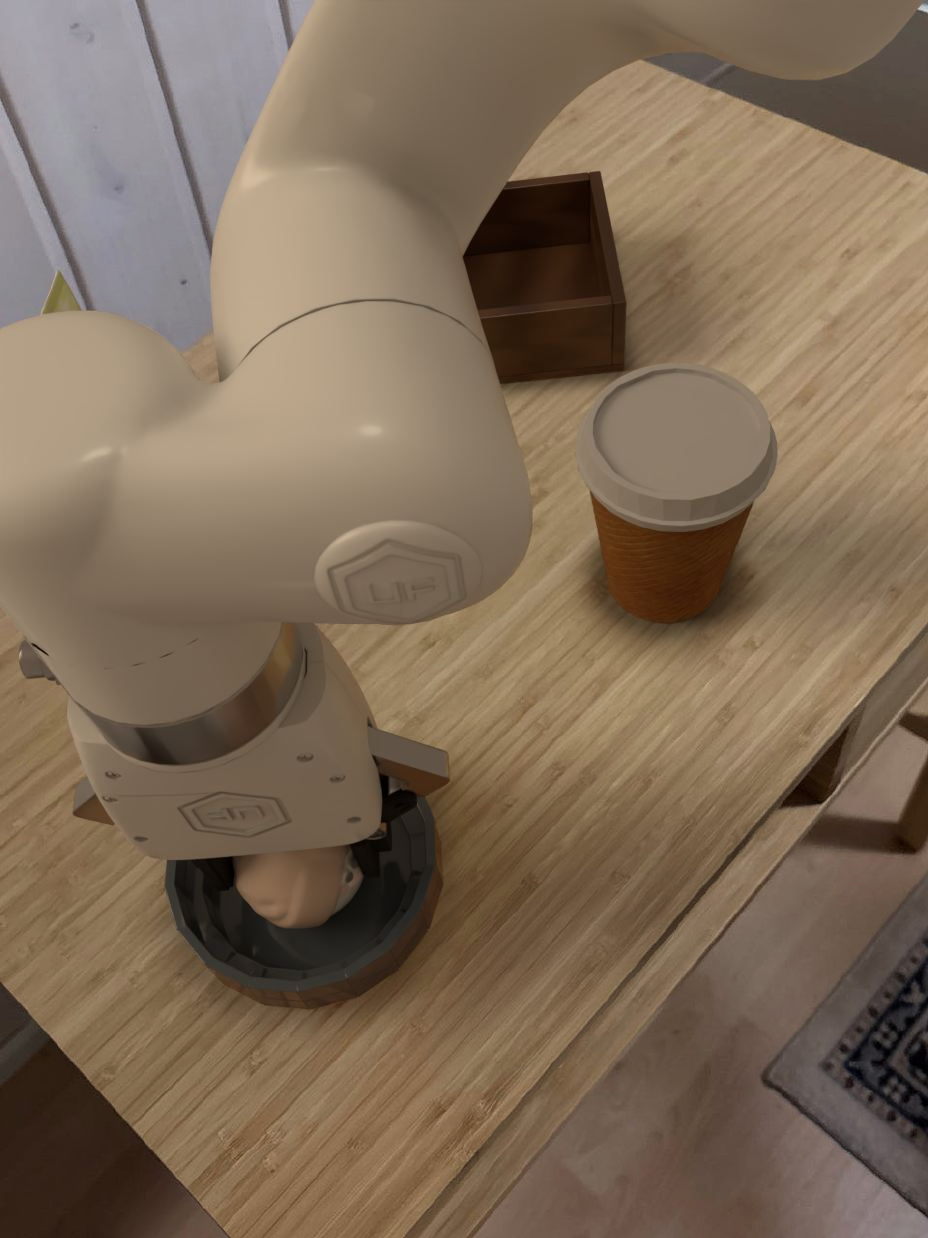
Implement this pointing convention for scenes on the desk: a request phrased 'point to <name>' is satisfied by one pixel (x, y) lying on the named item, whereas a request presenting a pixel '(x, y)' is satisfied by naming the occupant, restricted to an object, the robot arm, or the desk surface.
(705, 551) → the disposable coffee cup
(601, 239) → the holder
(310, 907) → the garlic bulb
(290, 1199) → the desk surface
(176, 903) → the bowl
